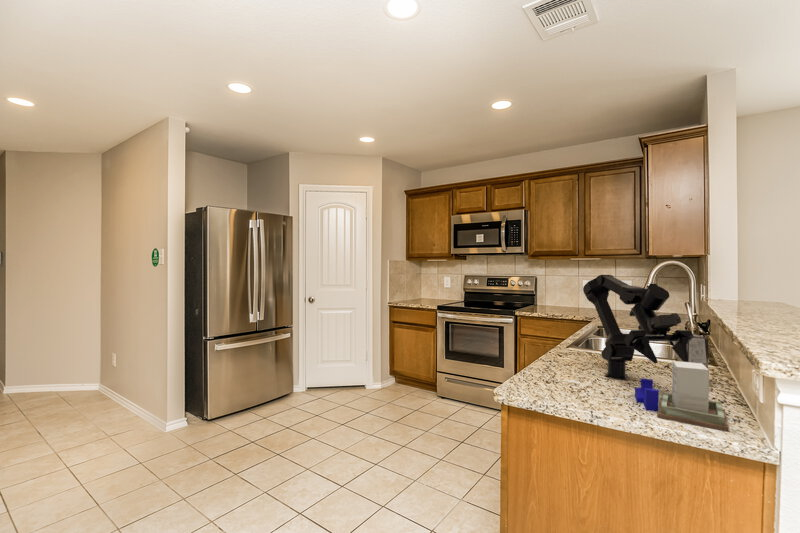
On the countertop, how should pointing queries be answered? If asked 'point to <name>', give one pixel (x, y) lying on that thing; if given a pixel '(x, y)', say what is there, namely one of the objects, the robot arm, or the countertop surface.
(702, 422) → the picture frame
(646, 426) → the countertop surface
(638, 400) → the cable clip
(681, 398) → the supplement box
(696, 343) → the coffee box
